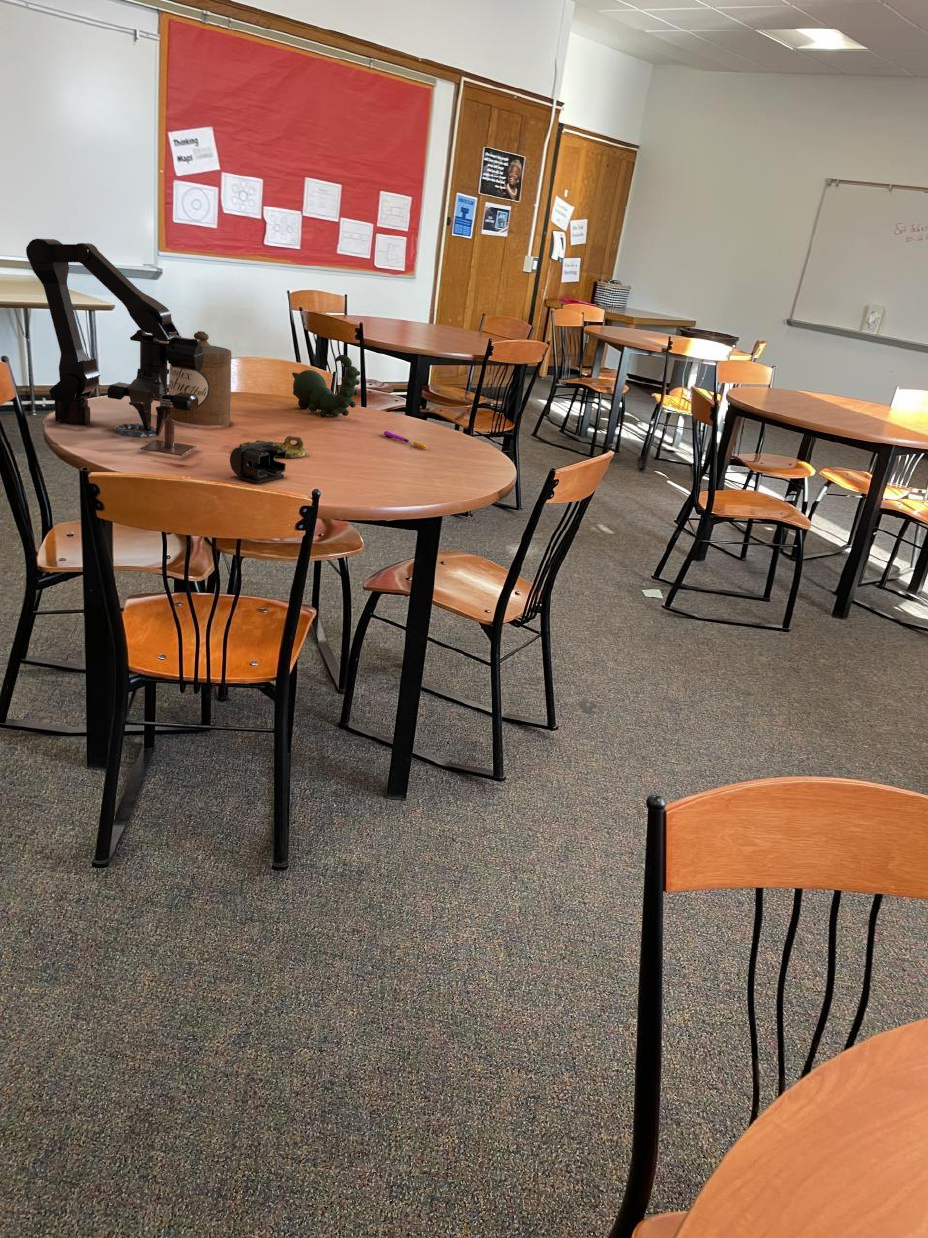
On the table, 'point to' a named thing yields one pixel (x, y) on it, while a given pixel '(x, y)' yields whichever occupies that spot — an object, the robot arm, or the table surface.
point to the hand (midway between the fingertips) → (153, 434)
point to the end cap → (258, 462)
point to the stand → (169, 442)
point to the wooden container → (205, 386)
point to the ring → (124, 431)
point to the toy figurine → (326, 390)
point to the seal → (285, 446)
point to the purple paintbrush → (404, 439)
